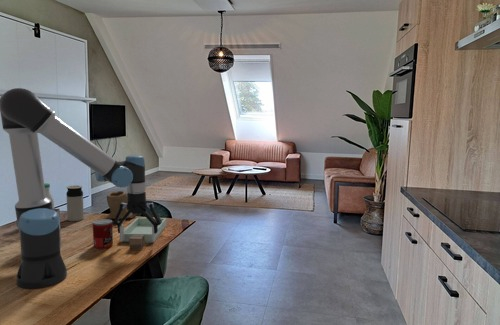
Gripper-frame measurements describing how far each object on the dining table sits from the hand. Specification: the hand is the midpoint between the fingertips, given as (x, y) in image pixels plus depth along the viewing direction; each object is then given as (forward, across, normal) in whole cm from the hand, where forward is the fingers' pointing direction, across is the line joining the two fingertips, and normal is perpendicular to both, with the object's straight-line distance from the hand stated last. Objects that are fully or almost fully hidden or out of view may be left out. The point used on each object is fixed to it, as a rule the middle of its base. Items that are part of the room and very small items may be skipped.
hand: (138, 240), depth 159 cm
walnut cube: (+3, 0, 0) cm, 3 cm away
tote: (+3, +2, -19) cm, 19 cm away
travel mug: (+3, +45, -40) cm, 60 cm away
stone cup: (+4, +22, -44) cm, 49 cm away
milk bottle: (+3, +58, -35) cm, 68 cm away
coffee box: (+3, +37, +2) cm, 38 cm away
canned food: (+3, +15, -1) cm, 16 cm away
